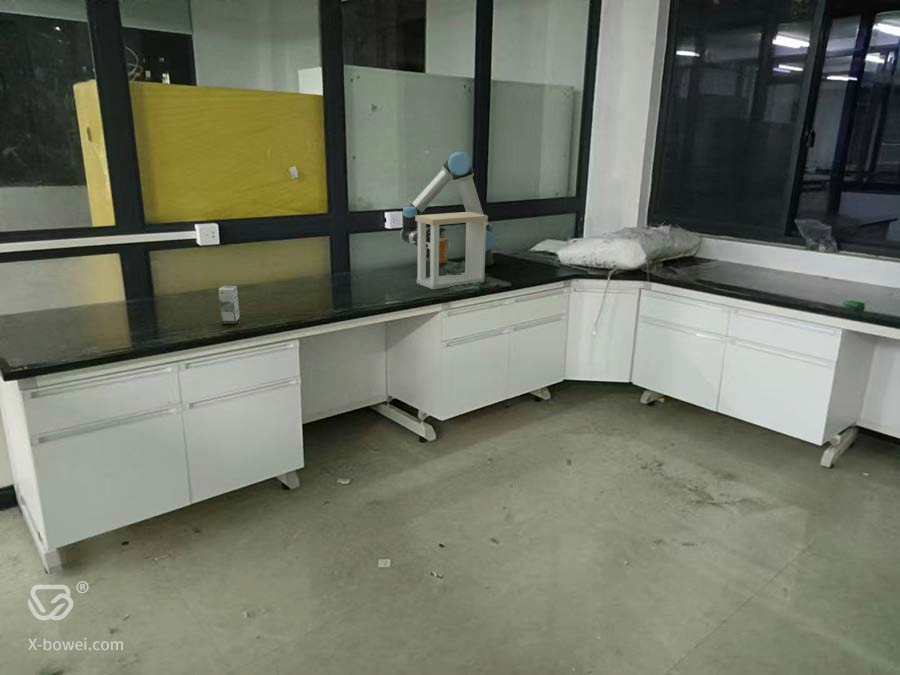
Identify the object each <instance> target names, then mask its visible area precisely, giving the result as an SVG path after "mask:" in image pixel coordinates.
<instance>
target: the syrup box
mask: <svg viewBox="0 0 900 675" xmlns="http://www.w3.org/2000/svg"><path fill="white" fill-rule="evenodd" d="M238 293H239V292H238V286H236V285H222V286H221V287H219V288H218V297H219V310H220V317H221V318H220V319H221V322H222V321H237V320H238V319H239V317H240V308H239V306H240V305H239V296H238ZM240 318H241V317H240Z"/></svg>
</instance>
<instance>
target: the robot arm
mask: <svg viewBox="0 0 900 675" xmlns="http://www.w3.org/2000/svg"><path fill="white" fill-rule="evenodd" d="M441 168H442V169H441V170H440V171H439V172H438V173H437V175H435V176H434V177H433V179H432V180H431V181H430V182H429V183H428V184H427V186H426V187H425V188H424V189H423V190H422V191H420V193H419V194H418V196H417V197H416V198H415V199H414V200H413V201H412V203H410V204H409V206H404V207H403V208H402V229H401V230H400V232H399V238H400V240H401V241H402V242H404V243H406V244H410V245H414V246H415V247H418V221H415V216H416V215H419V214H420V215H422V213H423V212H424V211H425V210H426V209H427V207H428V206H429V205H430V204H431V203H432V202H433V201H434V200H435V199H436V197H437V196H439V194H440V193H441V192H442V191H443V190H444V188H445V187H446V186H448V185H449V184H450V182H451V181H452V180H453V182H456V185H457V187H458V190H459V194H460V198H461V201H462V204H463V207H464V209H465V212H473V213H478V214H482V215H484V211H483V209H482V205H481V201H480V199H479V195H478V192H477V188H476V184H475V183H474V179H473V176H475V172H474V169H473V166H472V160H471V157H470V155H468V153H466V152H465V151H463V150H455V151H453V152H452V153H451V154H449V157H448V158H447V160H446V162H444V163H443V165H442V166H441ZM405 228H406V229H405ZM492 230H493V228H492V224H491V223H489V222H488V221H486V243H485V267H488V266H493V265H494V257H493V254H492V248H493V245H494V243H495V237H494V234H493V232H492ZM426 238H427V236H426ZM429 241H430V236H429ZM446 241H447V248H451V242H450V241H448V239H446ZM427 248H428V249H430V243H428V242H426V249H427Z"/></svg>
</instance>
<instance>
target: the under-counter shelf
mask: <svg viewBox="0 0 900 675" xmlns="http://www.w3.org/2000/svg"><path fill="white" fill-rule="evenodd" d="M488 219H489V215H486V214H483V215H482V214H478V213H473V212H466V211H462V212H461V211H460V212H459V211H458V212H446V213H434V214H433V213H431V214H420V215H416V216H415V221H417V231H418V246H417V278H416V284H418V285H421V286H422V287H423V286H424V287H426V288H429V289H431V290H438V289H443V288H444V289H445V288H451V287H450V286H452V287H455V286H454V285H459V286H462V285H461V284H466V285H469V284H468V283H473V284H476V283H475V282H480V283H485V271H486V270H485V268H486V266H485V243H486V221H487V222H488V221H489V220H488ZM463 223H465V258H464V259H465V260H464V262H465V263H464V264H465V265H464V272H460V273H461V275H452V274H451V273H450V274H444V275H443V274H442V275H440V272H439V271H440V270H439V269H440V267H439V228H440V225H451V224H452V225H453V224H463ZM427 225H430V228H431V231H430V232H431V235H430V236H431V238H430V261H429V262H430V265H429V277H428V276H427V270H426V269H427V266H426V265H427V257H426V254H427V248H426V230H427Z"/></svg>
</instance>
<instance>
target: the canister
mask: <svg viewBox="0 0 900 675" xmlns="http://www.w3.org/2000/svg"><path fill="white" fill-rule="evenodd" d="M446 230H447V229H446V228H445V227H442V226H441V227H439V268H443V267H445V266H447V265H448V263H447V262H448V259H447V258H448V256H447V254H448V250H447V249H448V247H447V241H448V240H447V237H446V234H444V232H446ZM426 236H427V238H426V242H428V243H430V241H429V237H430V238H431V227H430V228H428V229H426ZM446 240H447V241H446ZM426 259H429V262H428V264H429V266H430V249H428V248H426Z"/></svg>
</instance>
